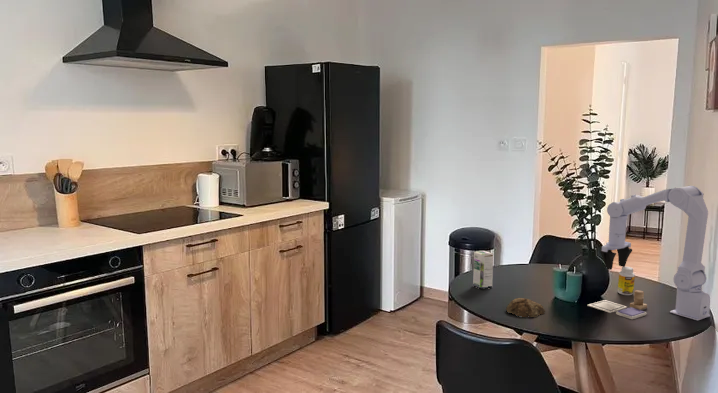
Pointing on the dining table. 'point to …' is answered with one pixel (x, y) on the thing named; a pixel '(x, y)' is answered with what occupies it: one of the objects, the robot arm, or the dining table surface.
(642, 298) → the stamp
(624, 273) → the supplement bottle
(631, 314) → the ink pad
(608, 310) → the print sheet
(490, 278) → the syrup box
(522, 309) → the brown speckled mound
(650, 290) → the dining table surface
